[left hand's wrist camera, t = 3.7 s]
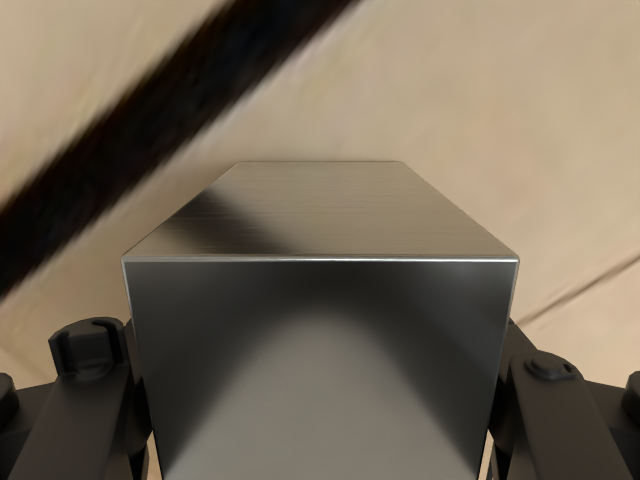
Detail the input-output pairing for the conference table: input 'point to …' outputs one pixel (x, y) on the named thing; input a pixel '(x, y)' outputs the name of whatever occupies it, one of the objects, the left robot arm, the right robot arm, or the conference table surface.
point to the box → (320, 326)
